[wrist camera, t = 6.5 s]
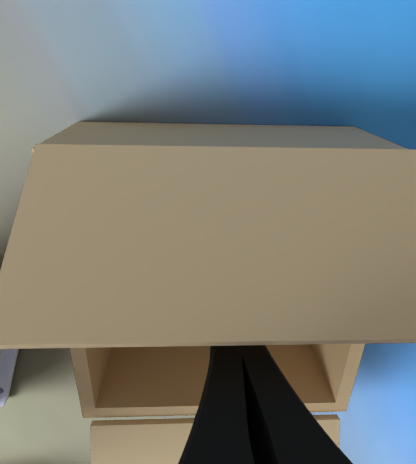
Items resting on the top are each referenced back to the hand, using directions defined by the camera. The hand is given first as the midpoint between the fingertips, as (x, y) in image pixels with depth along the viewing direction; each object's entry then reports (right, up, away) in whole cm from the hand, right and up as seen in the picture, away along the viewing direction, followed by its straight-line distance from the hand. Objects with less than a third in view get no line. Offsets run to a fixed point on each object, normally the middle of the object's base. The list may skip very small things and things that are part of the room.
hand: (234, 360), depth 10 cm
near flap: (0, +4, -1) cm, 4 cm away
